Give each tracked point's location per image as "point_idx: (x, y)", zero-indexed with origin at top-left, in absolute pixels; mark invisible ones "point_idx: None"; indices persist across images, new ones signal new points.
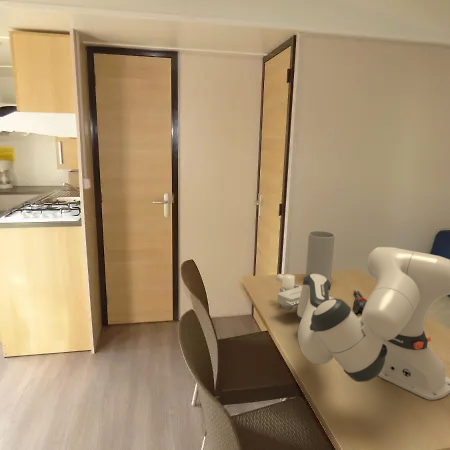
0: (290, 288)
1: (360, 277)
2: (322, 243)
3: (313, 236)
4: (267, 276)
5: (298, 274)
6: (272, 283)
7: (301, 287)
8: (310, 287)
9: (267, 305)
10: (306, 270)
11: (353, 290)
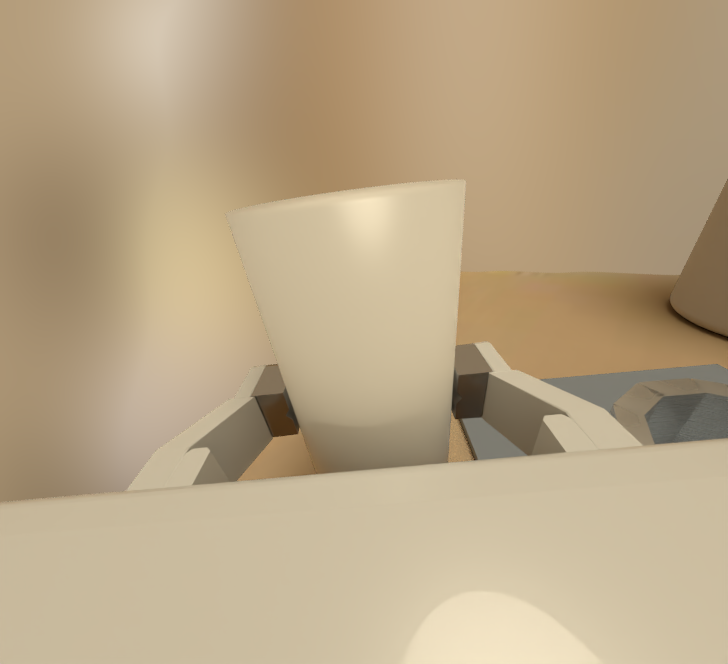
0: (330, 422)
1: None
2: None
3: None
4: (475, 274)
5: (628, 275)
6: (468, 300)
7: (588, 544)
8: None
9: (285, 436)
10: (699, 246)
11: None
